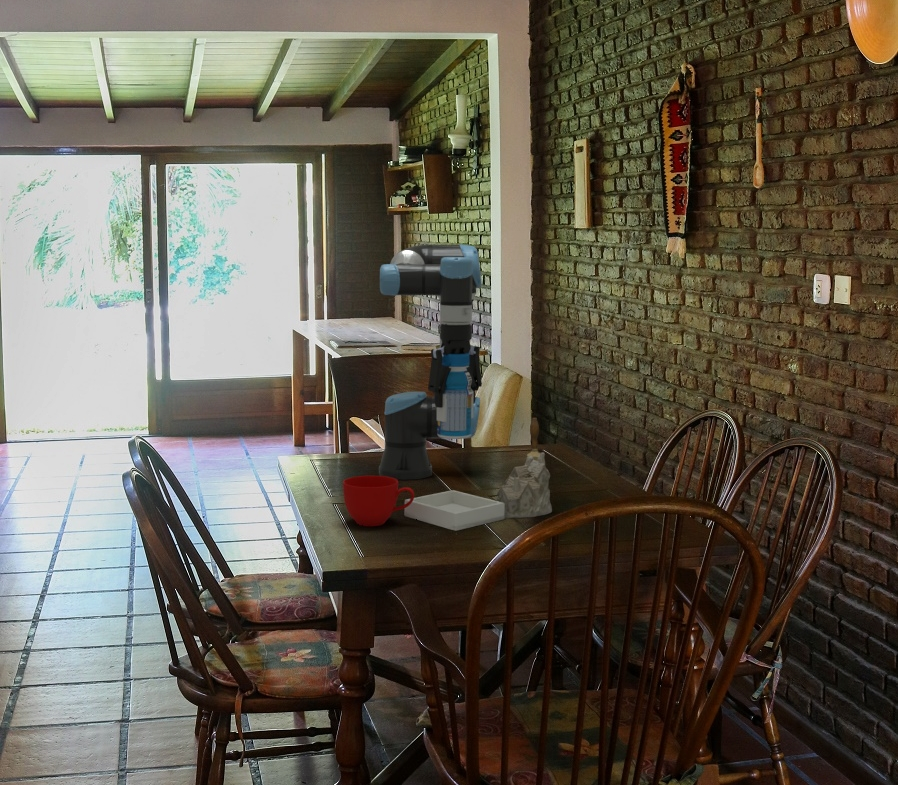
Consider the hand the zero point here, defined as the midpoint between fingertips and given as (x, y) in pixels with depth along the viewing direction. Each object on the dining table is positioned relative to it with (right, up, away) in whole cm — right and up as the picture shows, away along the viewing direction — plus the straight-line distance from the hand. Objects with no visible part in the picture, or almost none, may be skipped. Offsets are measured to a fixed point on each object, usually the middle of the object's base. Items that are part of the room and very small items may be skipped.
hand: (455, 419), depth 262 cm
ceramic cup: (-18, -25, -2) cm, 31 cm away
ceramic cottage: (+16, -23, +12) cm, 31 cm away
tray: (0, -24, +3) cm, 24 cm away
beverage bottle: (0, -4, +1) cm, 4 cm away
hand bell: (+23, -17, +56) cm, 63 cm away
